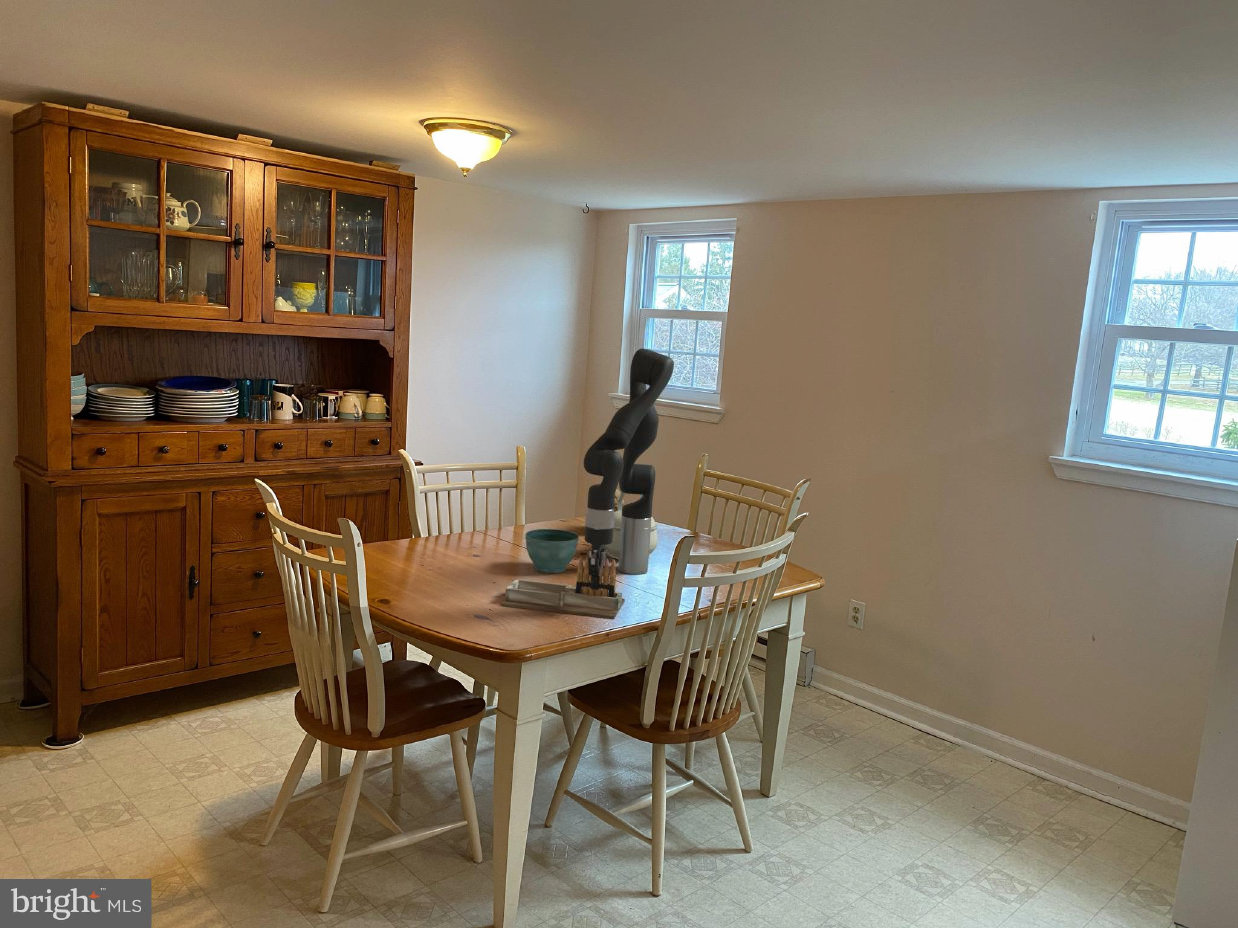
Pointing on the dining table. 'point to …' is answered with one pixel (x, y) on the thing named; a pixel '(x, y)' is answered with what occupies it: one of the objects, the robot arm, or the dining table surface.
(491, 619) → the dining table surface
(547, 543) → the flower pot
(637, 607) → the dining table surface
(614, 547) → the kettle
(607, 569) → the ammunition clip
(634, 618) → the dining table surface
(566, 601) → the shallow open tray
